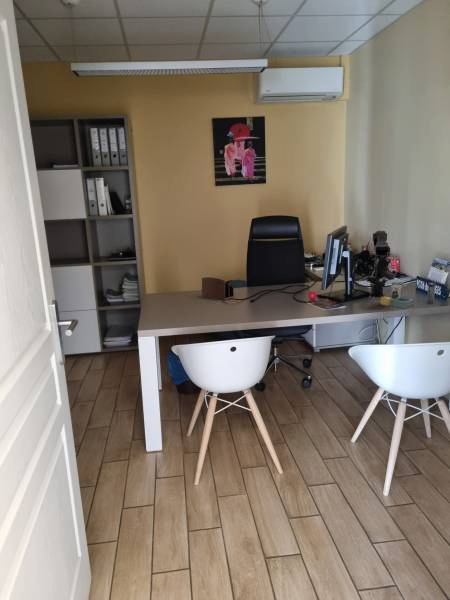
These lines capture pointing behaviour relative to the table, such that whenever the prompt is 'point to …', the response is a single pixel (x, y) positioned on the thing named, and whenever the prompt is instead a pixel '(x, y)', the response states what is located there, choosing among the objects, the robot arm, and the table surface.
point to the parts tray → (402, 302)
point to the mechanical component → (401, 285)
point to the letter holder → (216, 288)
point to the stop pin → (431, 293)
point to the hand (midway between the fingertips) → (379, 292)
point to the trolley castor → (394, 293)
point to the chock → (386, 301)
